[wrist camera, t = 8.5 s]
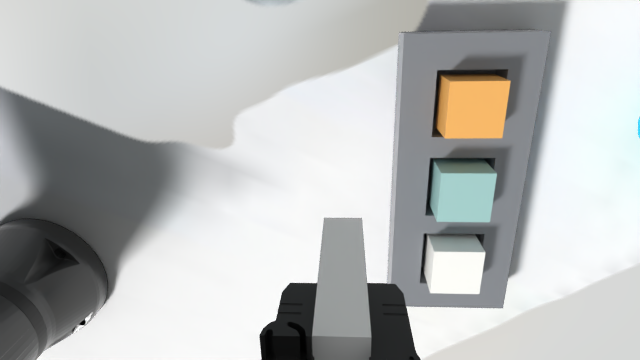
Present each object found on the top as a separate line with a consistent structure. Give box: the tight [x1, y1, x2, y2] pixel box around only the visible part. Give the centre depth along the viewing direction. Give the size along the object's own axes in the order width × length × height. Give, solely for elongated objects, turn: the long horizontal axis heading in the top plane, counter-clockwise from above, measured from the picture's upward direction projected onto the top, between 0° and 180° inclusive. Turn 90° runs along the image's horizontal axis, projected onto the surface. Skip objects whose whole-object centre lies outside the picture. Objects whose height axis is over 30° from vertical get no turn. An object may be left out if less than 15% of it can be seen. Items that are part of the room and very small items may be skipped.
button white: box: [423, 233, 485, 294], centre depth 43 cm, size 5×5×4 cm
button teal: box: [429, 159, 497, 222], centre depth 40 cm, size 5×5×4 cm
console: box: [387, 30, 551, 308], centre depth 42 cm, size 12×28×4 cm, turn 1°
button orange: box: [436, 74, 511, 139], centre depth 37 cm, size 5×5×4 cm
